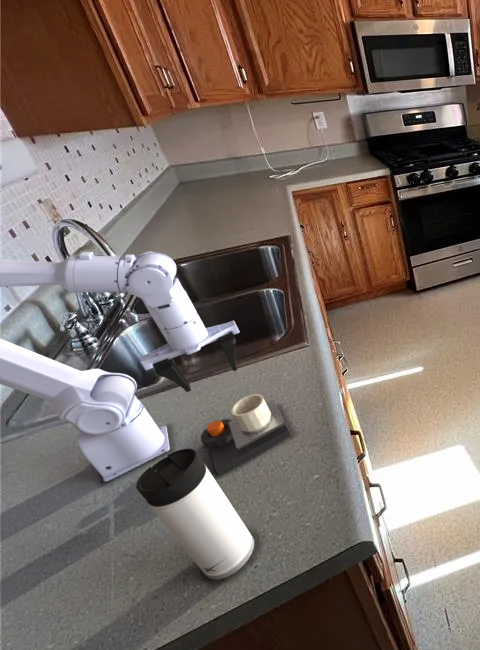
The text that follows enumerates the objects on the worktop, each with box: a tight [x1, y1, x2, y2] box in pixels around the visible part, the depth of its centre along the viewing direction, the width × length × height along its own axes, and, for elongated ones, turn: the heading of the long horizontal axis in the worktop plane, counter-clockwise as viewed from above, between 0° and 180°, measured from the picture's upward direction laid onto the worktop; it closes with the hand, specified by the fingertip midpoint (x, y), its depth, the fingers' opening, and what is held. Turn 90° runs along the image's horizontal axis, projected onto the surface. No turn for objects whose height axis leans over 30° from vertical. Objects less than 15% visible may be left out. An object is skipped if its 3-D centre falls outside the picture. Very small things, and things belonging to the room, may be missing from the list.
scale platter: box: [228, 399, 287, 450], centre depth 77 cm, size 8×8×1 cm
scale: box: [199, 418, 292, 476], centre depth 78 cm, size 13×11×3 cm
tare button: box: [206, 419, 225, 437], centre depth 77 cm, size 2×2×2 cm
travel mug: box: [135, 448, 255, 581], centre depth 55 cm, size 6×7×20 cm
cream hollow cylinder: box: [230, 393, 271, 432], centre depth 76 cm, size 5×5×4 cm
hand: (212, 378), depth 79 cm, fingers open, 7 cm apart
